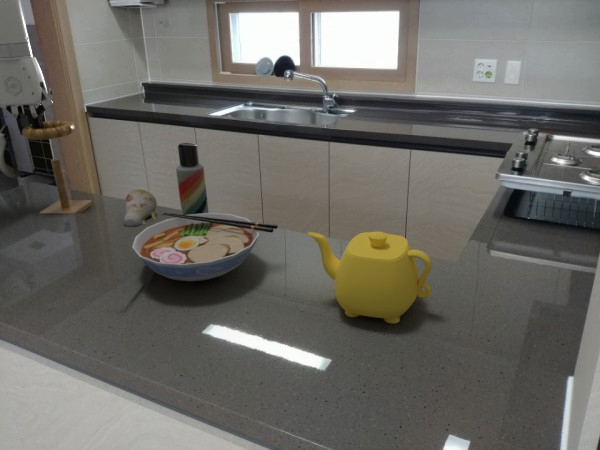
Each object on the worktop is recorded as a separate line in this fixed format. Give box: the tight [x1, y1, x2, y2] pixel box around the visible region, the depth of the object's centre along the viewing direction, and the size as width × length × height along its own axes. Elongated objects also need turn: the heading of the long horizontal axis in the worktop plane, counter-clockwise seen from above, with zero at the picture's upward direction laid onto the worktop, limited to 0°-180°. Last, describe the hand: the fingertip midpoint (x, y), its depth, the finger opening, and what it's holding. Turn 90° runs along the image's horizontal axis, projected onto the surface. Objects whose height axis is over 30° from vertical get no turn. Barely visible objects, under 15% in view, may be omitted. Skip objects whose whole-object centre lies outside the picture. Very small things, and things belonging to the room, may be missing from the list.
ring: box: [22, 120, 76, 141], centre depth 125 cm, size 11×11×2 cm
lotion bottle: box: [175, 142, 210, 215], centre depth 114 cm, size 6×6×20 cm
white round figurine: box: [123, 188, 158, 227], centre depth 123 cm, size 8×10×10 cm
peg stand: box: [39, 157, 93, 214], centre depth 130 cm, size 9×9×13 cm
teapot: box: [307, 231, 433, 324], centre depth 85 cm, size 14×20×13 cm
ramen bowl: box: [131, 212, 279, 282], centre depth 99 cm, size 25×23×8 cm
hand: (32, 133), depth 126 cm, fingers closed on ring, 2 cm apart
